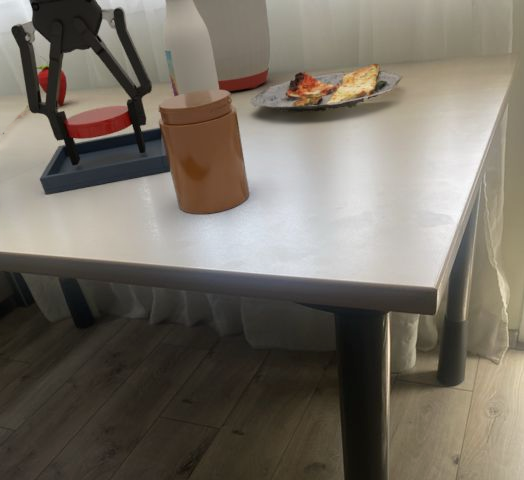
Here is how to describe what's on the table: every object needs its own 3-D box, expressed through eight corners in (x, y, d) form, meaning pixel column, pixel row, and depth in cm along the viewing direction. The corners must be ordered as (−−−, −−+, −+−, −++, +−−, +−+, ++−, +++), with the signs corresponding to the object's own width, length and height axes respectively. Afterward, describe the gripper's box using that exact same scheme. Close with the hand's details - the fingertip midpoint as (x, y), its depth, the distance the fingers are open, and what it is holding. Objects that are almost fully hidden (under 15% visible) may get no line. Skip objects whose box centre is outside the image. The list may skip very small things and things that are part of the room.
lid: (56, 136, 73) (51, 123, 72) (106, 118, 78) (102, 104, 77) (95, 140, 68) (91, 126, 67) (146, 120, 73) (142, 106, 72)
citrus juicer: (197, 85, 116) (176, -26, 104) (276, 73, 114) (264, -41, 102) (187, 101, 103) (161, -23, 92) (275, 89, 101) (260, -40, 90)
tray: (45, 194, 69) (39, 178, 68) (63, 160, 82) (58, 146, 80) (171, 170, 70) (167, 154, 69) (169, 140, 82) (166, 126, 81)
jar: (179, 219, 56) (154, 114, 50) (177, 193, 62) (155, 97, 56) (253, 205, 56) (237, 99, 50) (244, 181, 63) (229, 84, 56)
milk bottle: (230, 109, 93) (208, -30, 81) (209, 122, 88) (182, -24, 76) (193, 110, 97) (167, -23, 85) (171, 123, 91) (139, -17, 79)
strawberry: (47, 111, 116) (28, 60, 110) (48, 105, 122) (31, 56, 116) (74, 105, 117) (57, 54, 111) (74, 99, 123) (58, 51, 117)
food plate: (286, 87, 102) (284, 66, 99) (411, 78, 93) (411, 56, 91) (234, 125, 84) (230, 102, 82) (382, 119, 75) (382, 92, 73)
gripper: (-54, -25, 58) (28, 178, 72) (141, -57, 59) (185, 149, 72) (-33, -26, 64) (38, 162, 78) (143, -55, 65) (183, 135, 78)
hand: (109, 156), depth 75 cm, fingers closed on lid, 9 cm apart
